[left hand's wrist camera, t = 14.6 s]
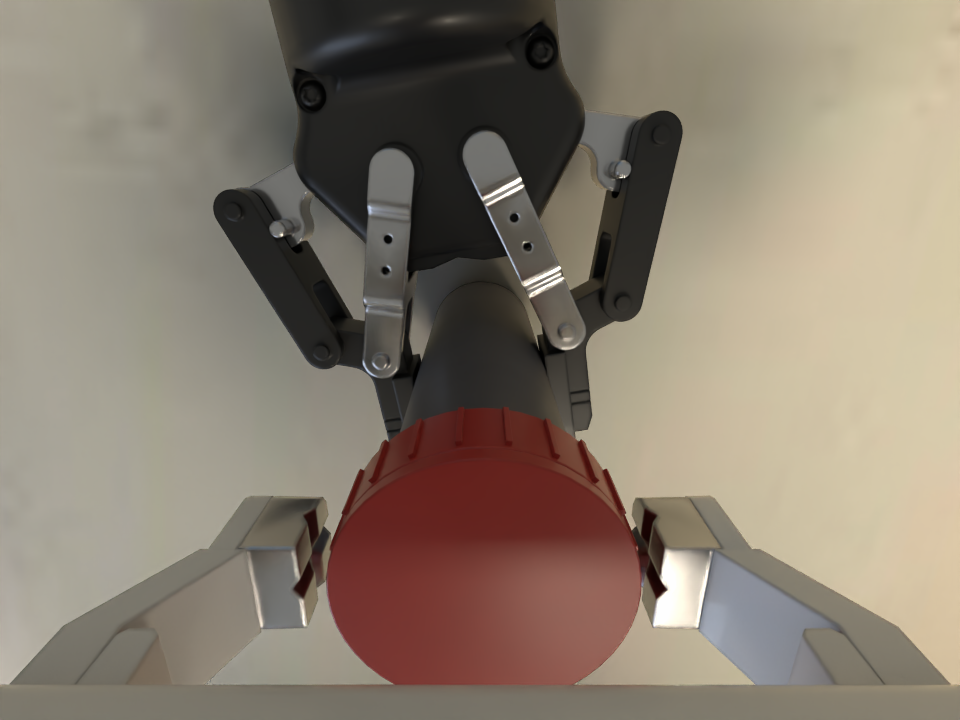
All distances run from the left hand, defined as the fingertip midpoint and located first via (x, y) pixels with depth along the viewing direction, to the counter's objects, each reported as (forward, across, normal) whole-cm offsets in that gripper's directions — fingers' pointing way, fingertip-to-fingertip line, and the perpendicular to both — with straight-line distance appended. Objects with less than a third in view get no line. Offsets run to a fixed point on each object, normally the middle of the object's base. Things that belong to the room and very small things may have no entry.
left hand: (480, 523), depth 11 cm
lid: (-2, 0, 0) cm, 2 cm away
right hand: (+8, 0, -3) cm, 8 cm away
